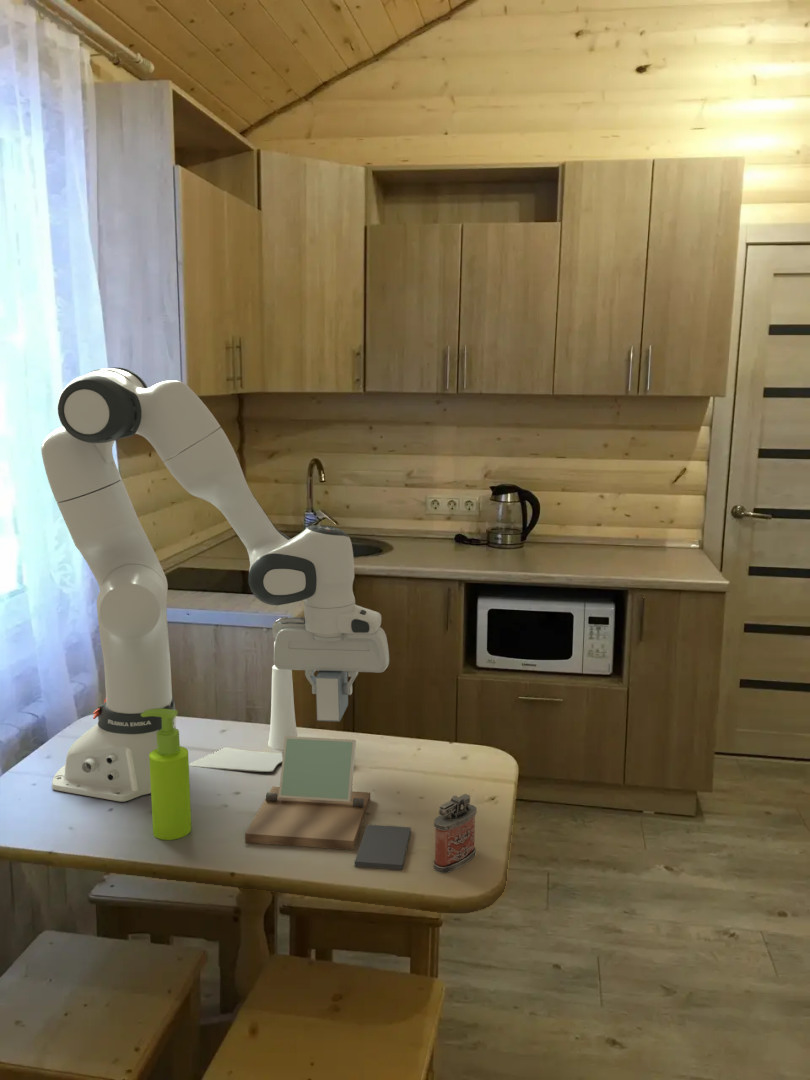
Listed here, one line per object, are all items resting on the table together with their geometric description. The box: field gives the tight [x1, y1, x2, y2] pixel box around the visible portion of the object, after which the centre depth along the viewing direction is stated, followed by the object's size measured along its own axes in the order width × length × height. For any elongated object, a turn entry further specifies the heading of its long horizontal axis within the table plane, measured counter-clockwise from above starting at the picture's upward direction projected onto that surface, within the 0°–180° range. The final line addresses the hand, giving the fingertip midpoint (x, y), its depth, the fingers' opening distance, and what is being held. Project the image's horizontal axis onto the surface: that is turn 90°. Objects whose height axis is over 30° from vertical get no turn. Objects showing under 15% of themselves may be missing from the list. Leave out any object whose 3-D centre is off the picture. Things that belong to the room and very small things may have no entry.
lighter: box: [433, 793, 477, 874], centre depth 132 cm, size 8×3×10 cm, turn 136°
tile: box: [278, 736, 357, 802], centre depth 149 cm, size 12×10×1 cm
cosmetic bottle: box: [267, 641, 299, 751], centre depth 172 cm, size 6×6×22 cm
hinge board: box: [244, 786, 371, 851], centre depth 145 cm, size 17×16×3 cm
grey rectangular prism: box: [315, 671, 349, 723], centre depth 158 cm, size 4×8×8 cm, turn 173°
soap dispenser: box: [141, 708, 192, 841], centre depth 140 cm, size 6×7×20 cm
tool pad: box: [354, 823, 412, 871], centre depth 137 cm, size 7×11×1 cm, turn 173°
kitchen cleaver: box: [189, 746, 283, 773], centre depth 166 cm, size 31×2×10 cm
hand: (332, 693), depth 158 cm, fingers closed on grey rectangular prism, 4 cm apart
